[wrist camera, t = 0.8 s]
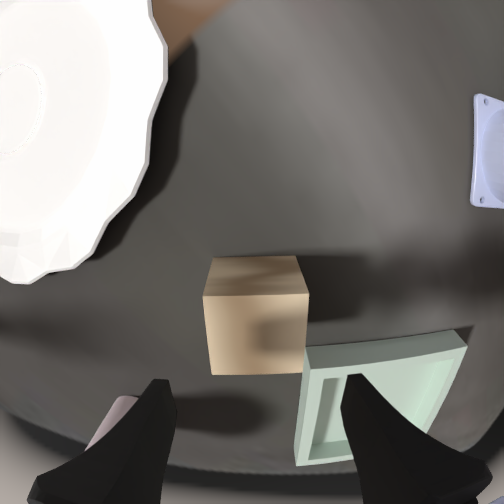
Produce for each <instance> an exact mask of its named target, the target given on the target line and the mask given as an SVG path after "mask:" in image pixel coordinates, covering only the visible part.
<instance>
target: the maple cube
mask: <svg viewBox="0 0 504 504" xmlns="http://www.w3.org/2000/svg"><path fill="white" fill-rule="evenodd" d="M203 304H204V314H205V323H206V331H207V340H208V348H209V356H210V364H211V371H212V375H248V374H279V373H298V372H303V363H304V353H305V342H306V330H307V317H308V304H309V292H308V289H307V286H306V283H305V281H304V278H303V275H302V273H301V270H300V267H299V264H298V262H297V259H296V256H258V257H215V258H213V260H212V264H211V267H210V271H209V275H208V278H207V282H206V286H205V289H204V293H203Z"/></svg>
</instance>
